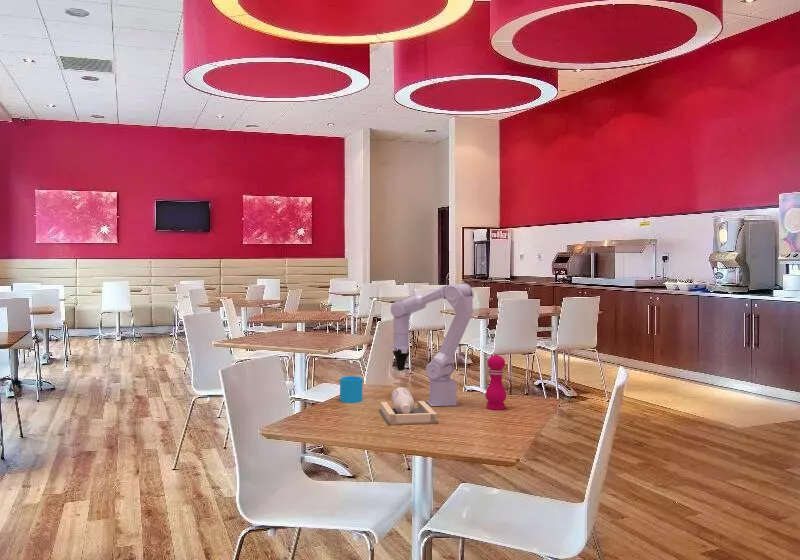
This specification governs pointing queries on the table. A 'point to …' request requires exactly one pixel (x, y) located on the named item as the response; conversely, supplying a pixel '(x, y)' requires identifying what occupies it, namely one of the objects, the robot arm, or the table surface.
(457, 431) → the table surface
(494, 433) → the table surface
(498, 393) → the pepper mill
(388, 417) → the cradle
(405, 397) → the bath foam
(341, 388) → the mug
